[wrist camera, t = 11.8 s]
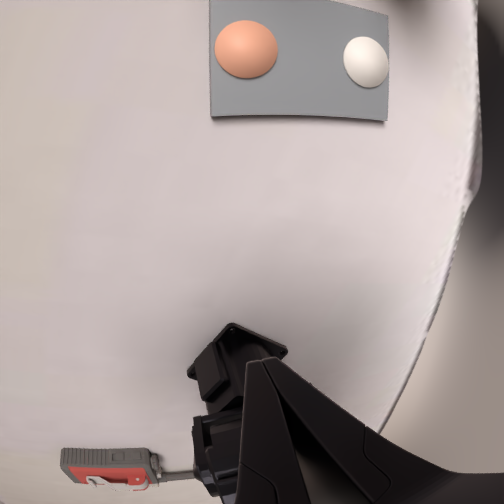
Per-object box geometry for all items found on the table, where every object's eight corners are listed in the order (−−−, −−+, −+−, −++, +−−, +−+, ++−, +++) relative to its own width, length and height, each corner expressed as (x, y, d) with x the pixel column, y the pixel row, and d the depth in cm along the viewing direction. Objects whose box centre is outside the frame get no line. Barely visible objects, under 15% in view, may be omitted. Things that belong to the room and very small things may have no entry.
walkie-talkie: (76, 472, 31) (214, 466, 36) (76, 499, 27) (221, 493, 32) (50, 443, 27) (211, 437, 32) (47, 473, 23) (219, 469, 28)
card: (382, 119, 20) (388, 121, 19) (210, 116, 17) (212, 116, 17) (382, 17, 16) (389, 15, 16) (209, -9, 14) (211, -13, 13)
